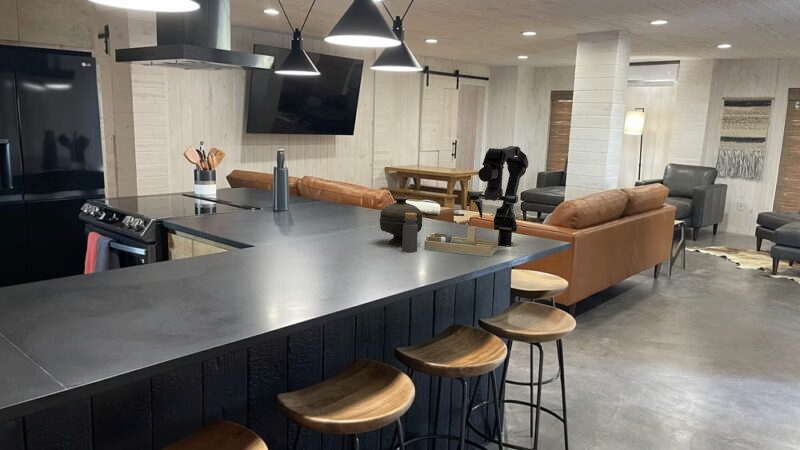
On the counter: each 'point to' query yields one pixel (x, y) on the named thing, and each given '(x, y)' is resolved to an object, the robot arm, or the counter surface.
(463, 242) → the tan and grey block
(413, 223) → the bottle
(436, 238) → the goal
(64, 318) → the counter surface
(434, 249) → the pitch
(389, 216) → the pot
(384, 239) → the counter surface
